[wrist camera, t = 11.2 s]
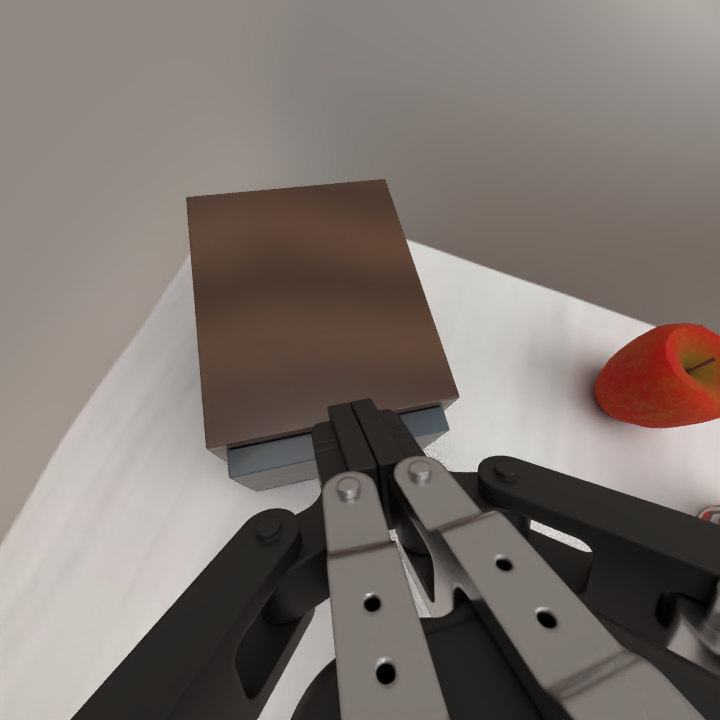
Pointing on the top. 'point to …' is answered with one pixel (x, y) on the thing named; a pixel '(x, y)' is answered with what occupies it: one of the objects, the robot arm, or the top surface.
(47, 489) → the top surface
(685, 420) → the apple
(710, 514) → the pill bottle
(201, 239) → the cabinet
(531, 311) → the top surface
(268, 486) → the drawer
